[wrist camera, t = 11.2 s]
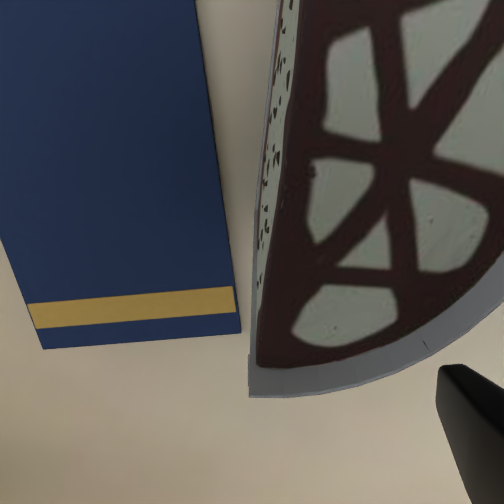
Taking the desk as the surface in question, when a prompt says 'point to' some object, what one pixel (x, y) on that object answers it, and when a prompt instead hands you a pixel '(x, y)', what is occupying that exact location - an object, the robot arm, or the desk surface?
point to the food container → (376, 190)
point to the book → (111, 173)
